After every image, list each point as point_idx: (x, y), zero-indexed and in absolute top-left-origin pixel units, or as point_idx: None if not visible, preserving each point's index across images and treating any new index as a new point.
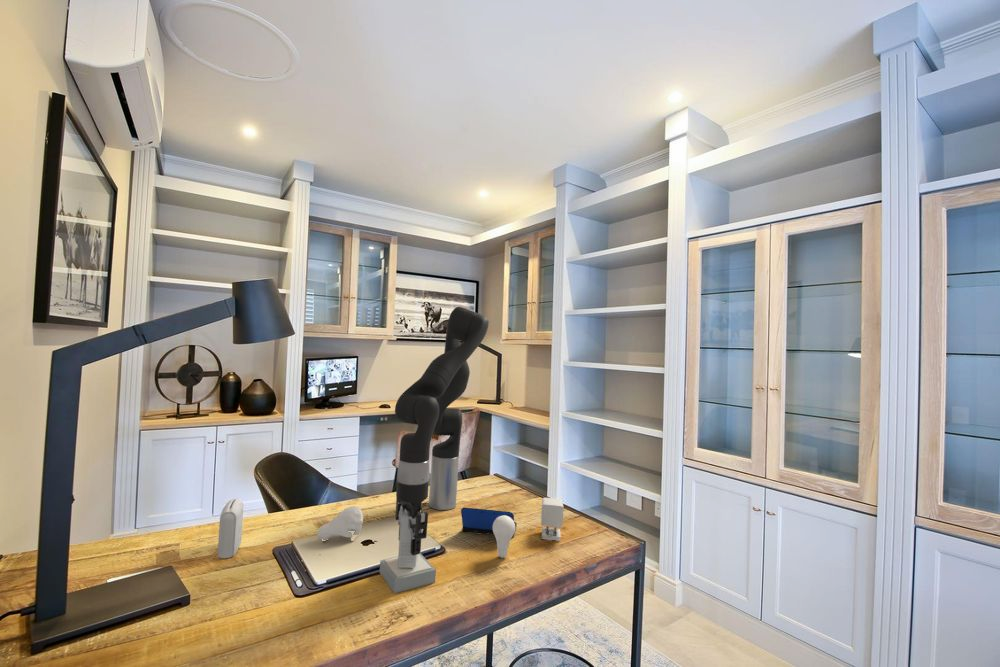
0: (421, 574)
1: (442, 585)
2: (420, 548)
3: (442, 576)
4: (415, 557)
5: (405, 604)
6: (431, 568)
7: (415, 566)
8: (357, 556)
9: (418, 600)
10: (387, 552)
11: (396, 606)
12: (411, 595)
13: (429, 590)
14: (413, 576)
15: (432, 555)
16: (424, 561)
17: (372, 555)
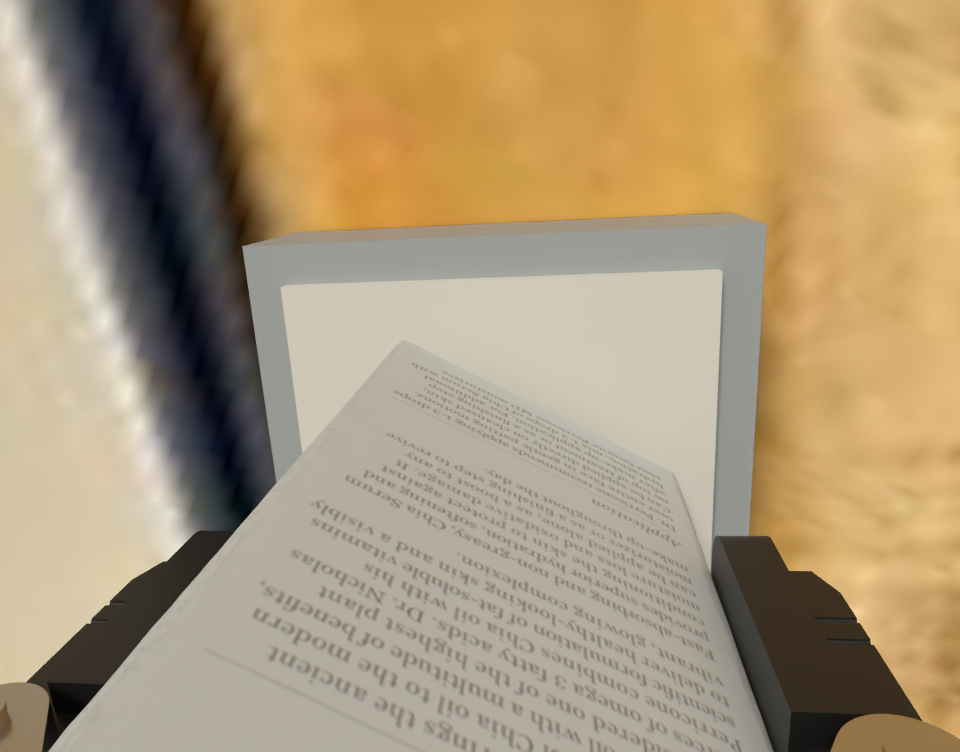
0: (752, 408)
1: (823, 161)
2: (786, 572)
3: (654, 85)
4: (698, 541)
5: (920, 585)
6: (711, 264)
7: (670, 473)
8: (23, 657)
9: (931, 473)
10: (2, 426)
11: (902, 651)
12: (819, 496)
13: (834, 321)
14: (748, 499)
15: (170, 8)
16: (536, 293)
17: (31, 555)
